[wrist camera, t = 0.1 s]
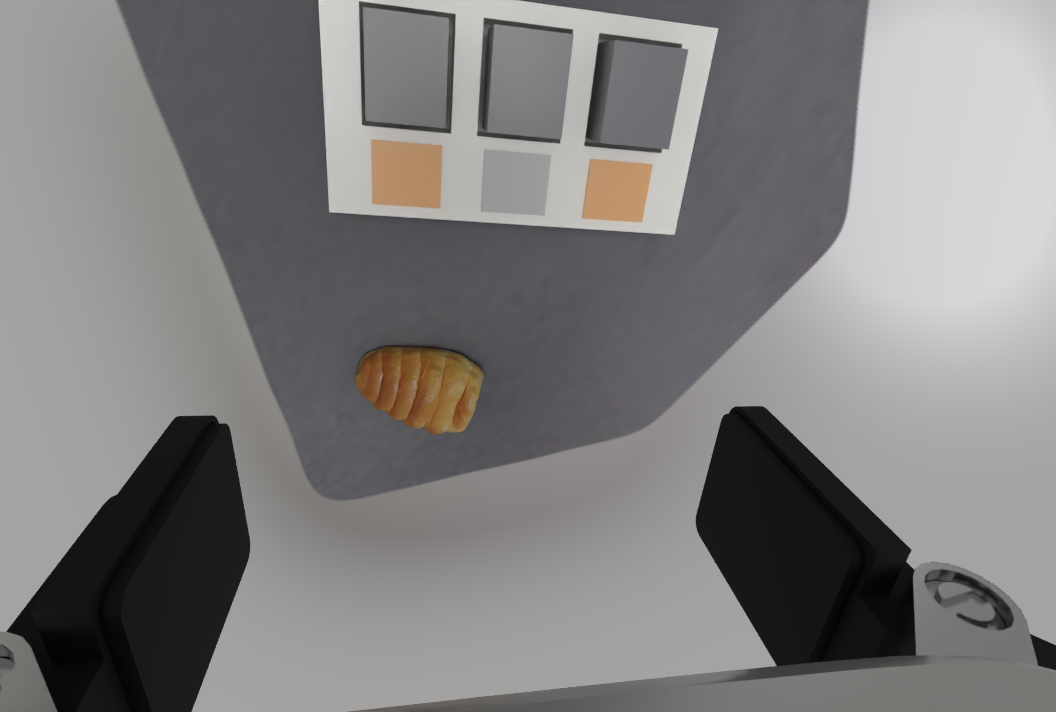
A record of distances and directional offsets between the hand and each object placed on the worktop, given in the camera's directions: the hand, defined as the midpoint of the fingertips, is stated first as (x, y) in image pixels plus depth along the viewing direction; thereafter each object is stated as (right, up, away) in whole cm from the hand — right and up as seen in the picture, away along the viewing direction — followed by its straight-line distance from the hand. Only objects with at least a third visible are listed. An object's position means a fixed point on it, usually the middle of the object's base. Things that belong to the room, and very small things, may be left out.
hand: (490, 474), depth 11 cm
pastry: (-7, 0, +34) cm, 35 cm away
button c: (+7, +18, +24) cm, 31 cm away
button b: (0, +18, +23) cm, 29 cm away
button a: (-6, +19, +21) cm, 29 cm away
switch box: (0, +18, +26) cm, 32 cm away
